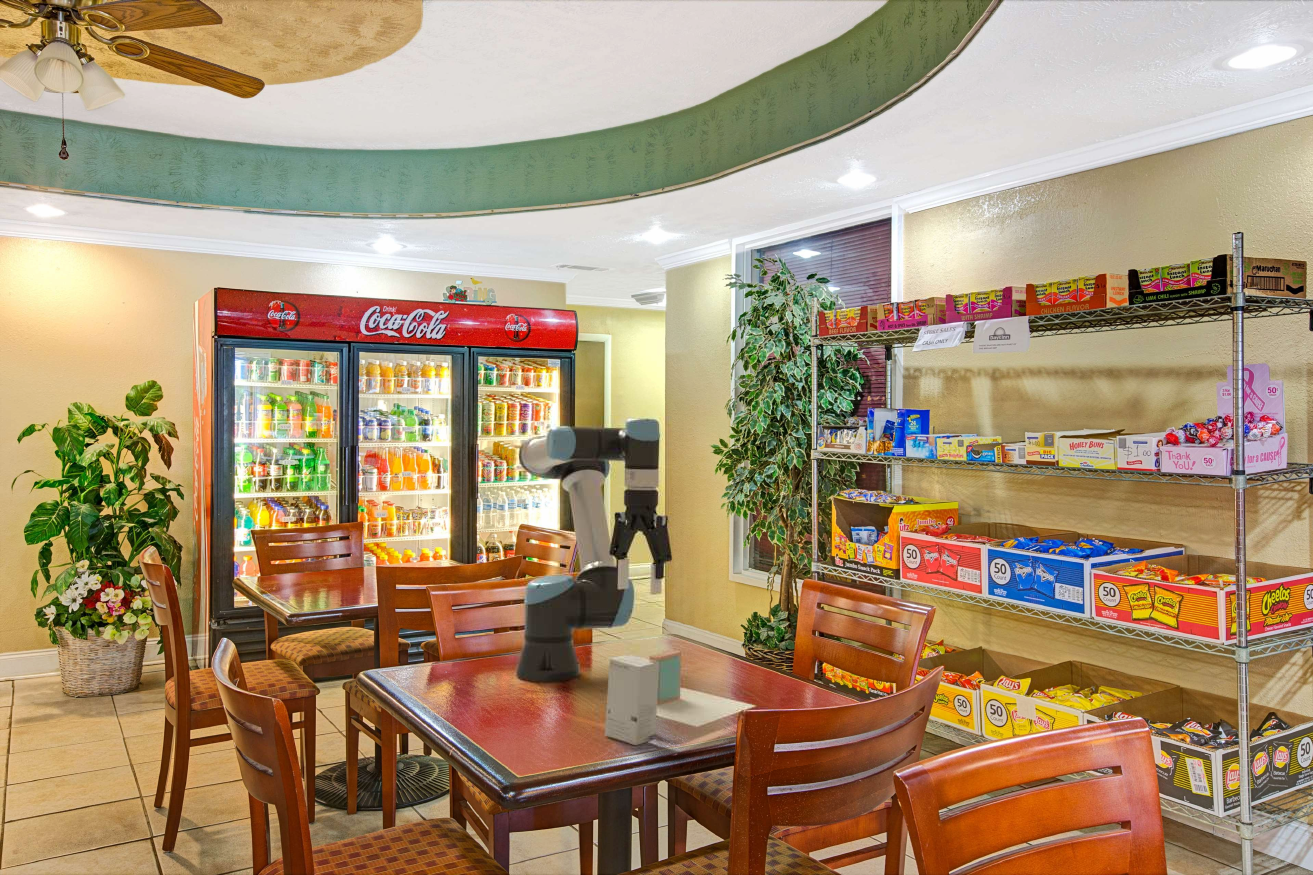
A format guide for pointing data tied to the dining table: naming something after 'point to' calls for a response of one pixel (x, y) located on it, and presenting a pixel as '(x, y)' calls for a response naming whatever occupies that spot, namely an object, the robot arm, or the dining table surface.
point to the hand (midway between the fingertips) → (639, 591)
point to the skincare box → (632, 699)
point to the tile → (668, 676)
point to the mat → (699, 708)
